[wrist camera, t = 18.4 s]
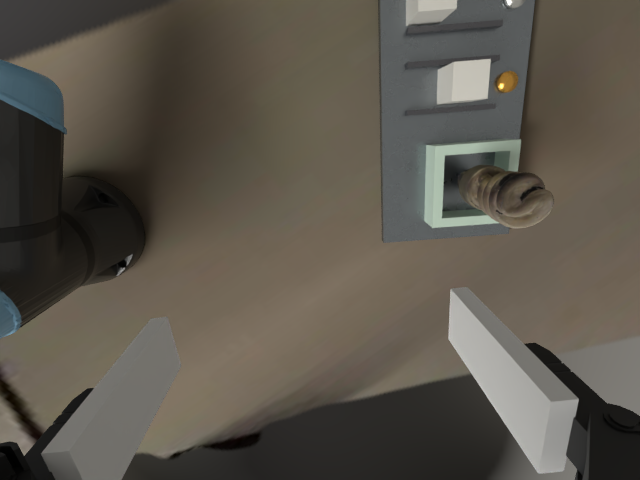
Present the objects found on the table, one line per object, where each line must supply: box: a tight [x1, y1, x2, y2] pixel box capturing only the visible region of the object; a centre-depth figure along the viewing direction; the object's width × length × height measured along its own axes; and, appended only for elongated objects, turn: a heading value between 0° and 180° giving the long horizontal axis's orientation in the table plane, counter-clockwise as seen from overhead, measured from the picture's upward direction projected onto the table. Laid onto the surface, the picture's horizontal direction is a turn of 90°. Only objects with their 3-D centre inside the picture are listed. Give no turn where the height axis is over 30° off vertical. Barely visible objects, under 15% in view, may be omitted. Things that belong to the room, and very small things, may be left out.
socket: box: [424, 139, 521, 228], centre depth 43 cm, size 10×10×4 cm
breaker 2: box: [437, 59, 491, 105], centre depth 39 cm, size 4×4×5 cm
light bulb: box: [457, 165, 554, 228], centre depth 38 cm, size 6×6×15 cm
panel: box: [378, 0, 535, 243], centre depth 43 cm, size 18×32×2 cm, turn 4°
